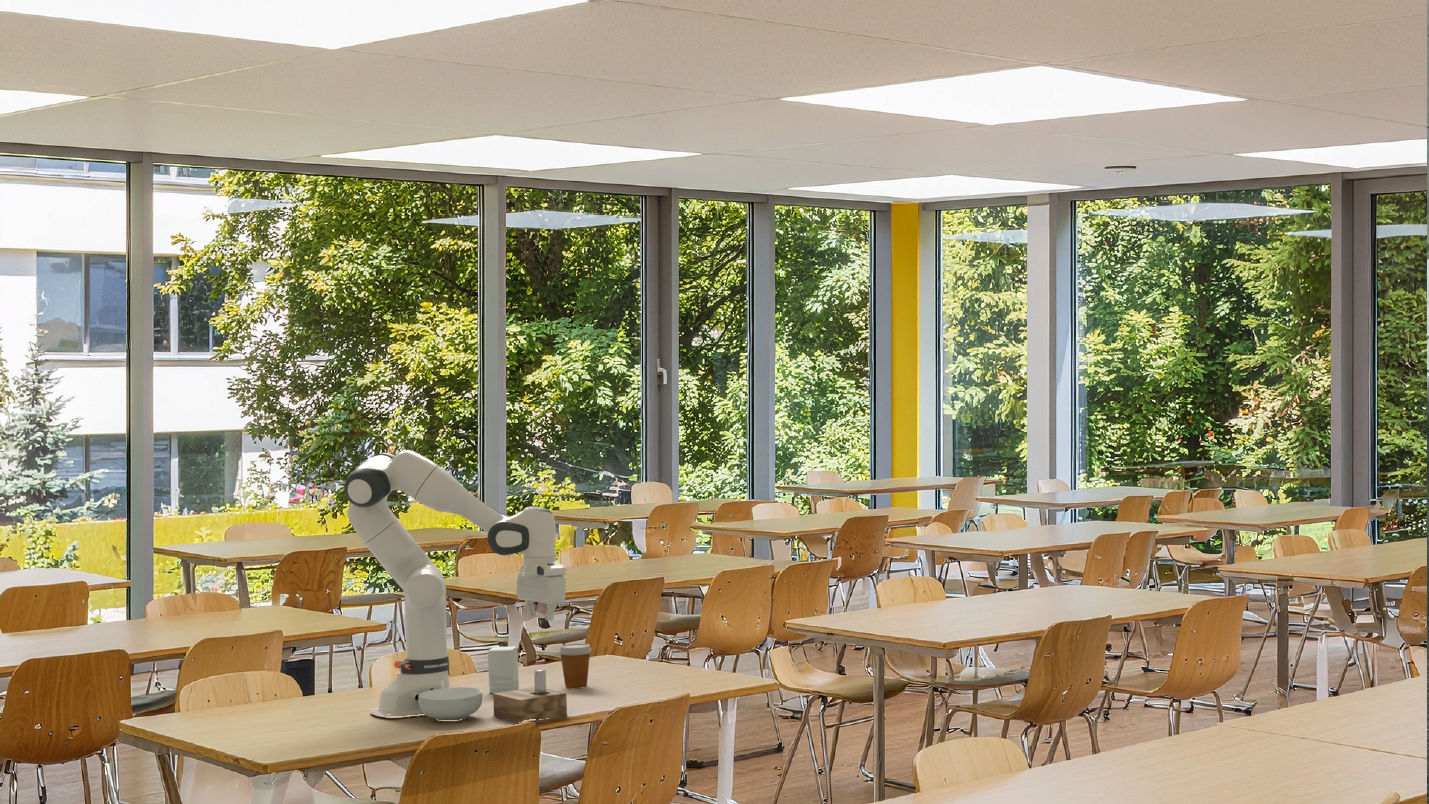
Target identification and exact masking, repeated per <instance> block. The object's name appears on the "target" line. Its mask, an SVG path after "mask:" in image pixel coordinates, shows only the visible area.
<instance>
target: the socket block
mask: <svg viewBox="0 0 1429 804" xmlns="http://www.w3.org/2000/svg"><path fill="white" fill-rule="evenodd" d="M492 696H493V700H492V701H493V717H495V716H497V717H496V718H499V719H503V720H506V721H510V722H515V723H517V722H522V721H524V720H529V719H536V720H539V719H545V720H547V719H546V718H551V719H554V718H553V717H557V718H561V717H560V716H563V717H567V716H568V703H567V701H568V700H567V698H568V697H567V692H563V691H560V690H555V689H551V688H547V687H546V694H543V695H535V686H534V687H528V688H521V689H518V690H513V691H507V692H500V693H493V695H492ZM539 721H540V720H539Z"/></svg>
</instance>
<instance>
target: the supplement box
mask: <svg viewBox="0 0 1429 804" xmlns="http://www.w3.org/2000/svg"><path fill="white" fill-rule="evenodd" d="M487 659H488V660H487V661H488V662H487V663H488V685H489V686H488V688H489V689H488V690H489V694H490V693H500V692H507V691H513V690H520V689H519V688H520V683H519V653H518V645H517V646H516V645H515V646H493V647H491V648H490V649H489V650H487Z"/></svg>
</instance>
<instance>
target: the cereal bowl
mask: <svg viewBox="0 0 1429 804" xmlns="http://www.w3.org/2000/svg"><path fill="white" fill-rule="evenodd" d="M418 699H419V706H420V709H421V711H422V712H423V713H424V714H425V715H426V717H429V718H432V719H435V720H436V719H438V720H460V719H464V720H466V719H467V718H468V717H469V716H471V715H473V714H474V713H476V712H478V710H479V709H480V708H481V706H482V703H483V690H482V689H480V688H478V687H469V686H454V687H452V686H451V687H450V688H441V689H434V690H429V691H425V692H422V693H420V694H419V696H418Z"/></svg>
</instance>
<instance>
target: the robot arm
mask: <svg viewBox="0 0 1429 804" xmlns="http://www.w3.org/2000/svg"><path fill="white" fill-rule="evenodd" d="M343 491H344V494H345V497H346V499H347V500H348V501H349V503H350V505H349V506H348V507H347V512H346V513H347V514H346V515H347V518H348V520H349V523H350V525H351V527H352V528H353V529H354V531H355V533H356V534H357V536H358V537H359V539H360V541H362V543H363V544H364V545H365V546H366V548H367V549H368V550H369V552H370V553H371V554H372V555H373V556H374V558H375V559H376V560H377V562H378V563H379V564H380V565H381V566H382V568H383V569H384V570H385V571H386V573H388V575H390V576H391V578H392V579H393V580H394V581H395V582H396V584H397V585H398V586H399V587H400V588H401V589H402V591H403V592H404V615H405V619H404V620H405V621H404V622H405V655H406V656H405V658H404V660H403V661H400V660H395V661H394V662H393V664H392V665H393V667H394V668H395V669H400V673H399V674H398V675H397V676H396V677H395V678H393V680H391V681H390V682H389V683H388V684H387V685H386V686H384V688H382V690H381V691H380V694H379V695H380V696H379V701H378V707H376V708H371V710H370V712H371V711H372V712H373V713H375V714H381V715H384V716H407V715H418V714H424V713H423V712H422V711H421V709H420V706H419V699H418V696H419V694H420V693H422V692H425V691H429V690H434V689H441V688H451V687H450V686H451V685H450V679H449V678H450V677H449V676H450V657H449V656H448V639H447V638H448V636H447V635H448V633H447V629H448V628H447V585H446V580H445V577H444V575H443V573H442V571H440V569H439V567H437V565H436V563H434V562H433V561H432V560H431V558H430V557H429V555H427V553H426V552H425V550H423V549H422V547H421V546H420V545H419V544H418V543H417V542H416V541H415V539H414V538H413V536H412V535H411V534H410V533H409V531H408V530H407V529H406V528H405V526H404V525H403V524H402V523H401V521H400V520H399V519H398V517H397V516H396V515H395V514H394V513H393V511H392V510H391V508H390V507H389V505H388V497H391V496H392V495H393V493H394V492H395V491H400V492H403V493H405V494H406V495H408V496H409V497H411V498H412V499H414V500H415V501H417V502H418V503H420V504H421V505H423V506H424V507H427V508H429V509H431V510H434V511H436V512H440V513H447V514H448V513H450V514H454V515H457V516H460V517H462V518H464V519H466V520H468V521H469V522H471V523H472V524H474V525H476V526H477V527H478V528H480V529H481V530H483V531H484V532H485V533H487V537H486V538H487V540H486V541H487V545H488V546H489V549H491V551H492V552H493V553H495V554H496V555H499V556H505V557H507V556H511V555H512V556H513V555H514V554H519V553H522V559H523V561H522V566H521V568H520V569H519V573H518V575H517V577H516V578H517V579H516V597H517V599H518V600H522V601H524V606H525V608H526V611H527V614H526V616H527V617H528V618H535V617H536V613H537V612H536V610H535V607H534V604H535V603H540V604H546V609H547V610H546V613H545V614H544V620H545V621H549V622H551V621H552V622H553V621H554V620H555V615H554V614H555V611H556V610H557V605H563V604H564V603H565V600H566V593H567V592H566V589H567V588H566V586H567V585H566V578H565V575H566V574H567V568H566V566H564V565H563V564H562V563H560V561H558V560H557V552H556V550H555V549H556V542H557V530H556V518H555V515H554V513H553V512H552V511H551V510H550V509H548V508H545V507H542V506H541V507H540V506H527V507H525V508H524V509H523V510H521V511H520V512H518V513H515V514H514V515H512V516H511V515H506V514H503V513H501V512H499V511H497V510H495V509H494V508H493V507H491V506H489V505H488V504H487V503H485V502H483V501H482V500H481V499H479V498H478V497H476V496H474V495H473V494H472V493H471V492H470V491H469V490H468V489H466V488H465V486H464V485H462V484H461V483H460V482H459V481H458V479H457V478H455V477H454V476H453V475H452V474H450V472H448V471H447V470H446V469H444V468H443V467H441V466H440V465H438V464H437V463H435V462H434V461H432V460H431V459H429V458H427V457H426V456H424V455H422V454H419V453H418V452H414V451H412V450H410V449H407V450H406V449H405V450H401V451H400V452H398V453H397V454H396V455H394V454H392V453H389V452H380V453H377V454H374V455H372V456H371V457H369V458H368V459H366V460H364V461H362V462H361V463H360V464H359V465H358V466H357V468H355V469H354V470H353V471H352V472H350V474H349V475H348V476H347V477H346V480H345V482H344V487H343ZM386 714H391V715H386Z"/></svg>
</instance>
